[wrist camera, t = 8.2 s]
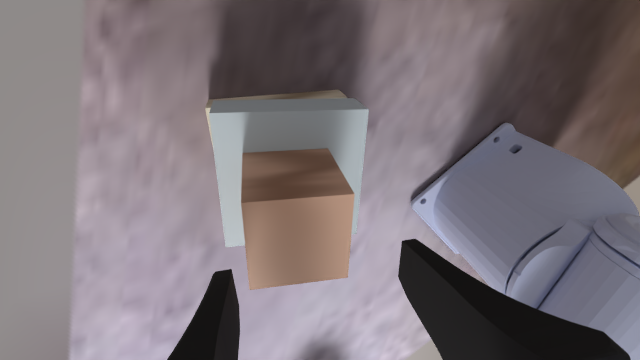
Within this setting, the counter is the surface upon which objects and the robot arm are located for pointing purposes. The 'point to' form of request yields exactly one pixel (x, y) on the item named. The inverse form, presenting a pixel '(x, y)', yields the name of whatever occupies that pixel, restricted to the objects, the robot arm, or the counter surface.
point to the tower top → (283, 143)
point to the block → (295, 217)
